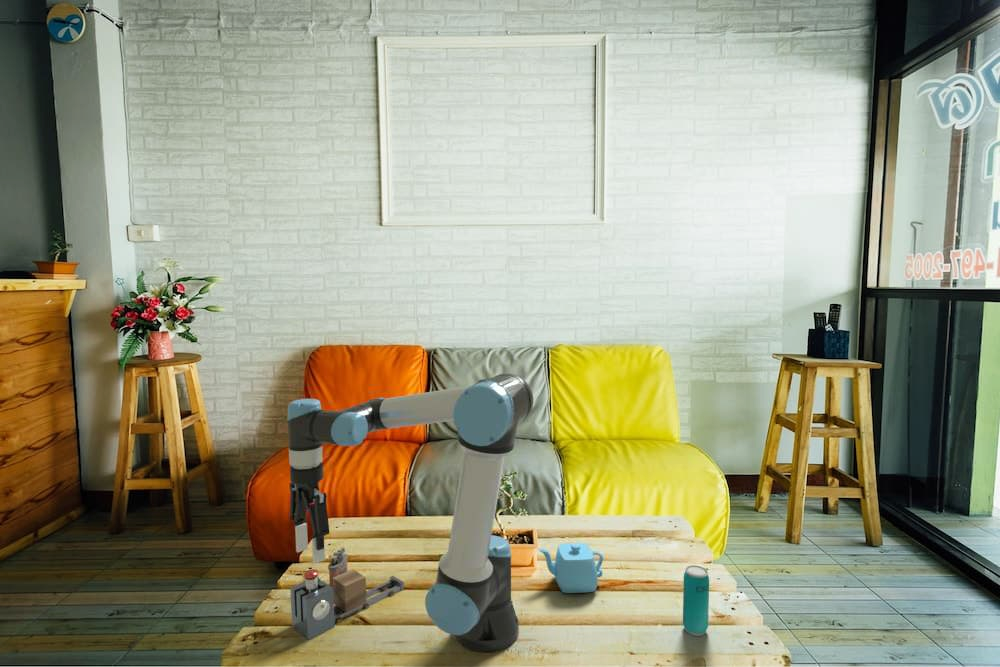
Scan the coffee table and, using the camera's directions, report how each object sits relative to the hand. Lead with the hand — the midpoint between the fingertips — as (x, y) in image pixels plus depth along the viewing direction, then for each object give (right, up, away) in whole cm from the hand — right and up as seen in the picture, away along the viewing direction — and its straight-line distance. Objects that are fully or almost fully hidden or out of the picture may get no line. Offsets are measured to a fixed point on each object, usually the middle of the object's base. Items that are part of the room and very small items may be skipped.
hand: (310, 555), depth 138 cm
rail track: (+7, -17, +9) cm, 21 cm away
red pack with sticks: (+1, -17, +20) cm, 26 cm away
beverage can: (+93, -18, -2) cm, 95 cm away
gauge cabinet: (0, -18, +2) cm, 18 cm away
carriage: (+7, -16, +9) cm, 20 cm away
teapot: (+66, -16, +19) cm, 70 cm away
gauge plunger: (0, -11, +1) cm, 11 cm away
